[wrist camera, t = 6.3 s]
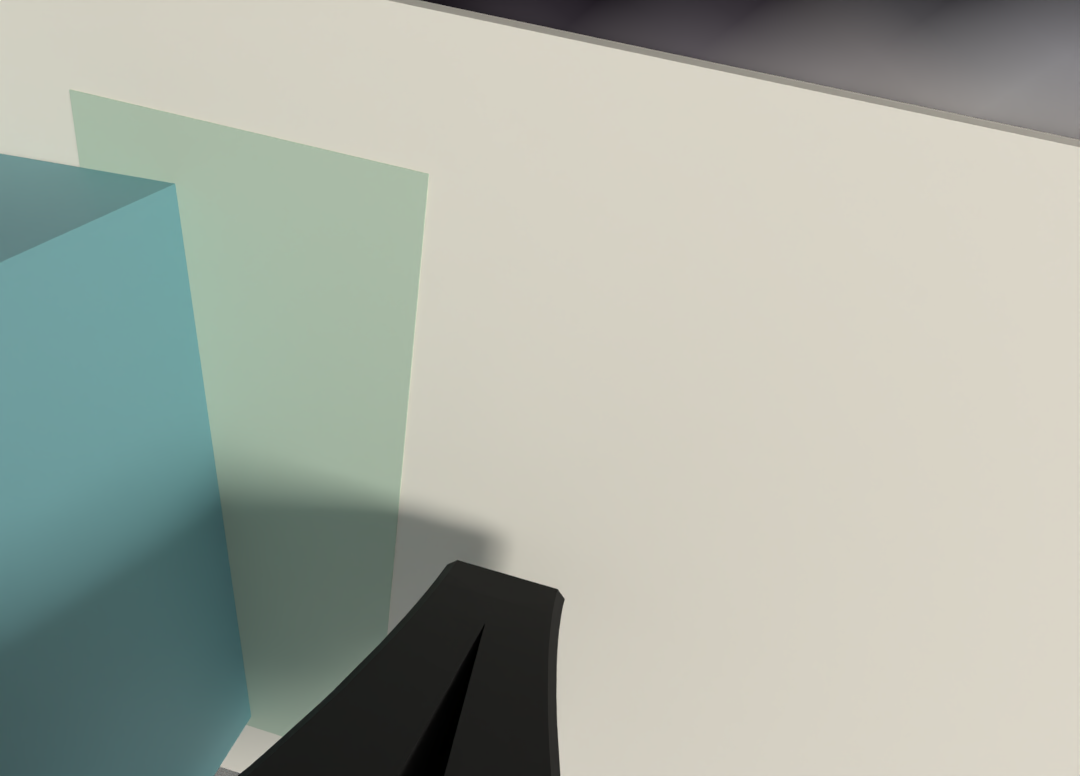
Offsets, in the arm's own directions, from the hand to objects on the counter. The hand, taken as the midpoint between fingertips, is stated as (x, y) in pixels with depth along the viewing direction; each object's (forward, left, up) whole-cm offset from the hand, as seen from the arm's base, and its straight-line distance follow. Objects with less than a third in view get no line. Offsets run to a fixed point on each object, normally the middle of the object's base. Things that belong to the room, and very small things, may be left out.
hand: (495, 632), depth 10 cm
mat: (+2, 0, -1) cm, 2 cm away
